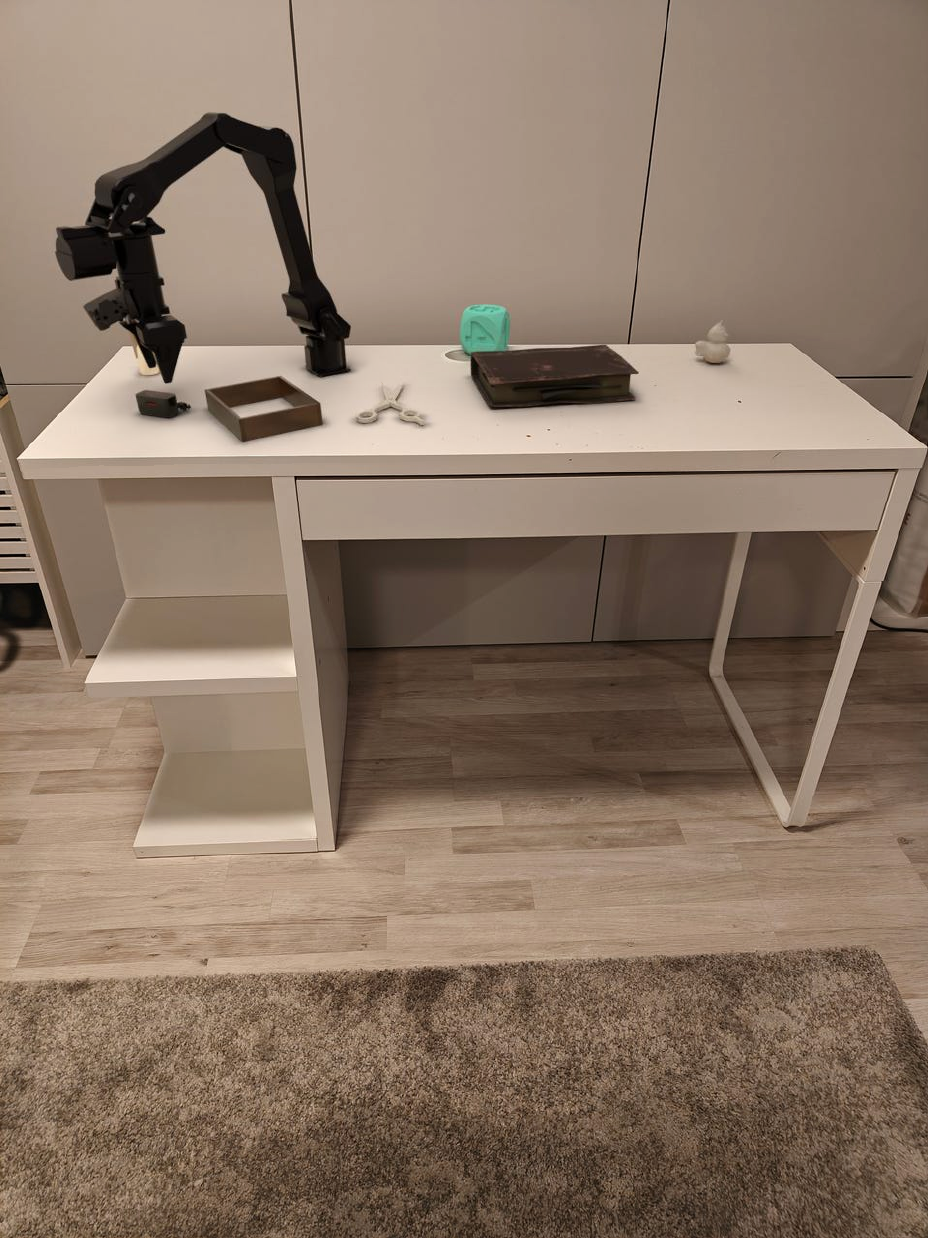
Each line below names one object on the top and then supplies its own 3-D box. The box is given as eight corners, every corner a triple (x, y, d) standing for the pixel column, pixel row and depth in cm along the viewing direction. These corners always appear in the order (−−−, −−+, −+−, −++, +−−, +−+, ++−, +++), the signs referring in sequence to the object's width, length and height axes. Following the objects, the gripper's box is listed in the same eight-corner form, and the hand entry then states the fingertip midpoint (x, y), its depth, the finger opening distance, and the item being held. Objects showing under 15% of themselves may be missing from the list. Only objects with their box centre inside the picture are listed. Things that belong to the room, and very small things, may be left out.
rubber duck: (731, 366, 154) (738, 322, 150) (695, 366, 154) (702, 322, 150) (724, 358, 159) (732, 314, 154) (690, 357, 159) (696, 314, 154)
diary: (470, 376, 150) (470, 348, 147) (602, 368, 153) (605, 341, 150) (490, 412, 134) (491, 381, 132) (637, 402, 138) (640, 372, 135)
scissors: (355, 422, 129) (362, 380, 145) (356, 426, 129) (362, 384, 145) (423, 420, 129) (422, 379, 145) (423, 425, 129) (423, 383, 146)
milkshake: (159, 377, 150) (147, 320, 144) (132, 375, 151) (119, 319, 145) (171, 369, 153) (160, 314, 148) (145, 368, 154) (133, 312, 149)
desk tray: (283, 395, 141) (281, 375, 140) (322, 424, 130) (320, 402, 128) (208, 410, 136) (204, 389, 134) (242, 441, 124) (238, 419, 122)
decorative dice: (499, 358, 159) (500, 315, 154) (459, 355, 160) (459, 312, 156) (509, 347, 165) (510, 305, 160) (471, 344, 167) (471, 302, 162)
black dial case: (174, 419, 132) (170, 400, 130) (138, 414, 134) (133, 394, 132) (192, 410, 136) (188, 390, 134) (156, 405, 138) (152, 385, 136)
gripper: (67, 265, 125) (93, 368, 134) (95, 288, 112) (122, 401, 121) (142, 257, 130) (163, 357, 139) (177, 279, 117) (197, 387, 126)
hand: (159, 375), depth 131 cm, fingers open, 9 cm apart
